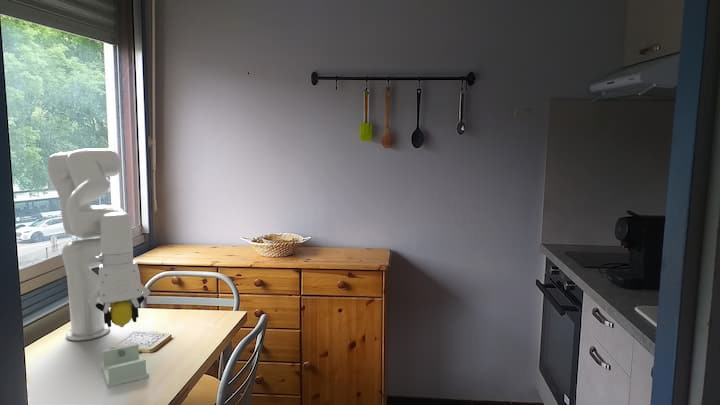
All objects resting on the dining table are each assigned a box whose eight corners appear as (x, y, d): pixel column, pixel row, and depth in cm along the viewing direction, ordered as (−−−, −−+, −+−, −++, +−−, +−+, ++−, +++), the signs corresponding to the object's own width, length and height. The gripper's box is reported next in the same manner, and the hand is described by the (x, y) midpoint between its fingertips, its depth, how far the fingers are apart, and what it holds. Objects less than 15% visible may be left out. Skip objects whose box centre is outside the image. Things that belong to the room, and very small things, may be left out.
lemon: (124, 331, 127) (122, 302, 126) (106, 330, 128) (104, 301, 127) (137, 324, 133) (136, 296, 132) (120, 322, 134) (118, 295, 133)
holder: (102, 367, 135) (100, 351, 134) (140, 359, 140) (139, 342, 140) (107, 387, 124) (106, 369, 123) (148, 377, 130) (147, 359, 129)
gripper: (82, 266, 120) (87, 334, 122) (154, 257, 130) (158, 320, 132) (79, 259, 126) (84, 325, 129) (149, 251, 136) (152, 312, 138)
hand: (121, 322), depth 130 cm, fingers closed on lemon, 5 cm apart
